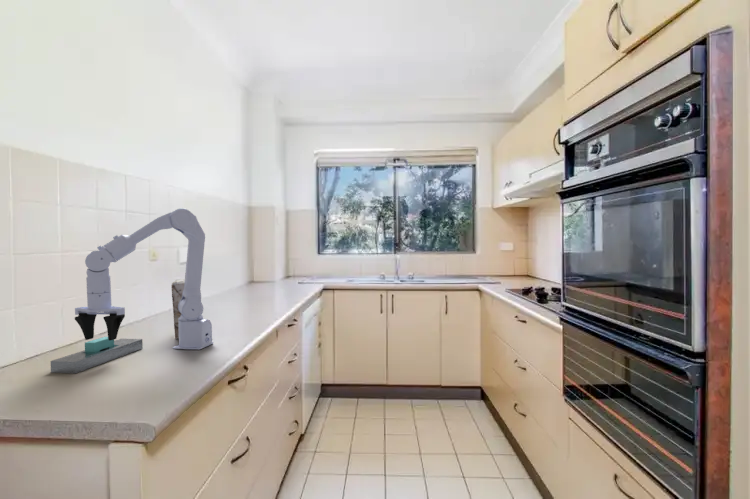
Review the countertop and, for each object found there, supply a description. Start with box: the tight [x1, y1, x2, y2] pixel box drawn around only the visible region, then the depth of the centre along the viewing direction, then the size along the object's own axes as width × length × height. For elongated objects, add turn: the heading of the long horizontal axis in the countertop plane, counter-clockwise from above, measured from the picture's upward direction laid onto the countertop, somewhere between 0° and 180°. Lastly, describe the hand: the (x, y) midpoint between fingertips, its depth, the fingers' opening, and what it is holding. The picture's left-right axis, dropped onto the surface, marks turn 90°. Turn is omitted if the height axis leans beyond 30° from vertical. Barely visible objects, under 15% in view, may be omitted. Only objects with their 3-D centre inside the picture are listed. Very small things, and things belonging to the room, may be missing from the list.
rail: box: [50, 338, 143, 374], centre depth 116 cm, size 7×24×3 cm, turn 171°
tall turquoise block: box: [84, 336, 115, 354], centre depth 116 cm, size 7×3×5 cm, turn 171°
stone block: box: [171, 278, 185, 340], centre depth 145 cm, size 13×7×20 cm, turn 25°
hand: (100, 339), depth 116 cm, fingers open, 7 cm apart
